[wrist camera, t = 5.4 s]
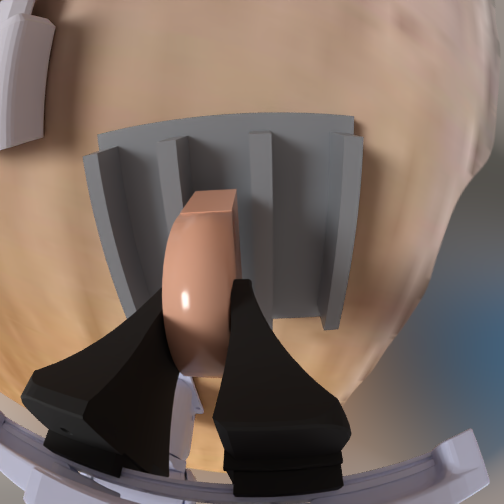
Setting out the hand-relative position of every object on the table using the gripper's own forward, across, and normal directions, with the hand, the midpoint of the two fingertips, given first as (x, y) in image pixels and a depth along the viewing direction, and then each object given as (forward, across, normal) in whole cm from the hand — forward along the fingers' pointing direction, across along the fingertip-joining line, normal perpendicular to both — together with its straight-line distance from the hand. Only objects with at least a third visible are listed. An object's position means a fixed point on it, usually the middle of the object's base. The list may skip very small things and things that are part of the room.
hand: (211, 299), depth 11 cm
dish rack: (+8, 0, 0) cm, 8 cm away
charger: (+8, +16, -16) cm, 24 cm away
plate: (+4, 0, 0) cm, 4 cm away
